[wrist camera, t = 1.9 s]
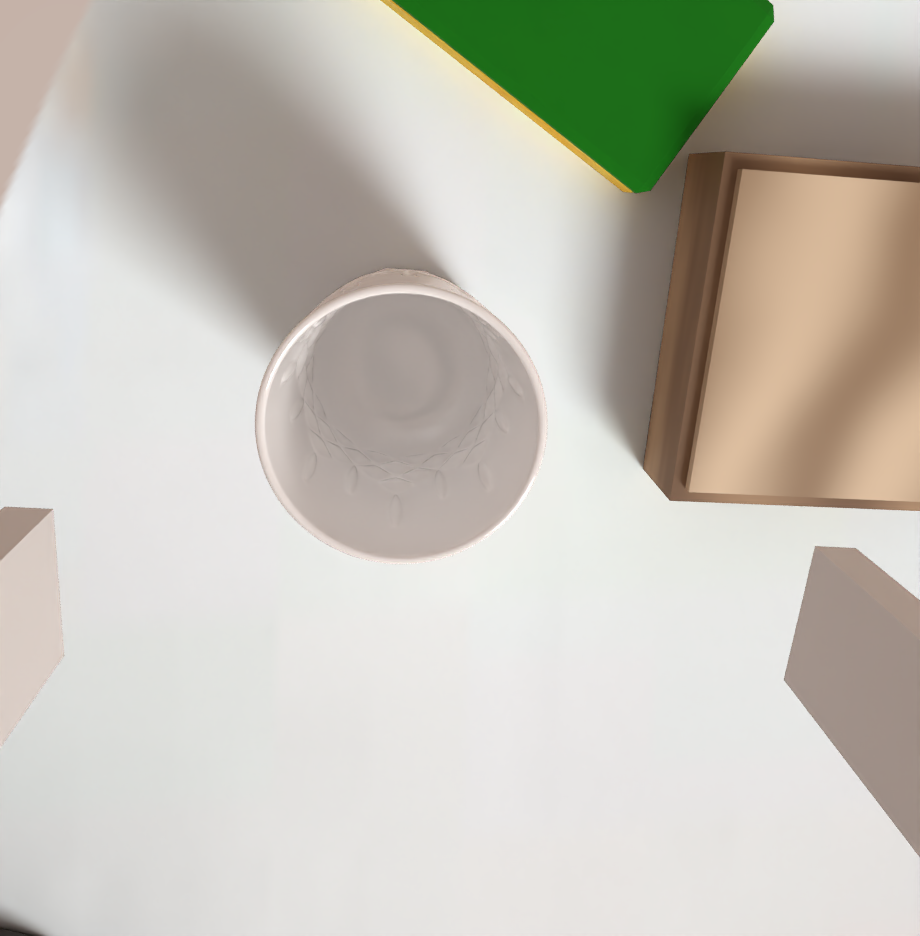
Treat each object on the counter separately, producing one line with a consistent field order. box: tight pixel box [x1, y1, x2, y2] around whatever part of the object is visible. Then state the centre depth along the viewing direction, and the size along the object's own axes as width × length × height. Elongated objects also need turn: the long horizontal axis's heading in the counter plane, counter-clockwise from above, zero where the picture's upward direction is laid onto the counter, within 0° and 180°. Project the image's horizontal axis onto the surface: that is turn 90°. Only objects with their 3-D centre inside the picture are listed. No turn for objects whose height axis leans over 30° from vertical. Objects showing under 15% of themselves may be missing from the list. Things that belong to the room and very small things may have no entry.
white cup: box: [255, 268, 547, 564], centre depth 28 cm, size 8×8×10 cm
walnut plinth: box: [643, 152, 920, 511], centre depth 31 cm, size 12×12×4 cm
